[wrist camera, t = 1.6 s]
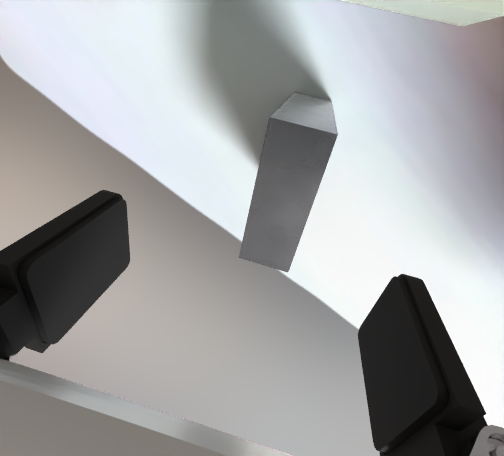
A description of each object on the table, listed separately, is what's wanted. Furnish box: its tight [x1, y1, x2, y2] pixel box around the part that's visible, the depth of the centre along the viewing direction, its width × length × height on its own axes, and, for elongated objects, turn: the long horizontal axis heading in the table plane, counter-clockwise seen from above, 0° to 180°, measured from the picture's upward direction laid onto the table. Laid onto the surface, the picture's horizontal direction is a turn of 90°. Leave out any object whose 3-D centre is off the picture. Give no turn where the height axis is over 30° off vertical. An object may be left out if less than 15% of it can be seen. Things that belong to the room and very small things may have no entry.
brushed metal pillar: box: [239, 92, 338, 272], centre depth 19 cm, size 3×8×12 cm, turn 169°
